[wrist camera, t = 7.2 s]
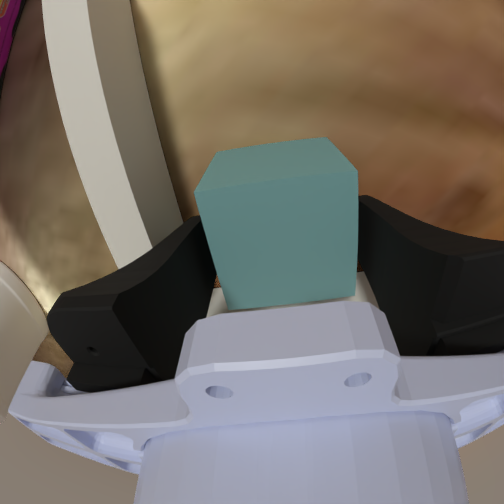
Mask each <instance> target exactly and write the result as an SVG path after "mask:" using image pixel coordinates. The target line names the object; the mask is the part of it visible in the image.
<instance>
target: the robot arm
mask: <svg viewBox="0 0 504 504" xmlns="http://www.w3.org/2000/svg"><path fill="white" fill-rule="evenodd" d="M357 257H358V260H359V262H360V264H361V266H362V269H363V271H364V273H365V275H366V277H367V280H368V282H369V284H370V286H371V289H372V291H373V293H374V295H375V298H376V301H377V303H378V306H379V309H378V308H377V307H375V306H374V305H372V304H371V303H369V302H355V301H337V302H330V303H322V304H314V305H306V306H297V307H288V308H278V309H268V310H258V311H247V312H235V313H222V314H218V315H215V316H211V317H207V313H208V309H209V304H210V300H211V296H212V292H213V288H214V284H215V279H216V275H217V272H216V268H215V265H214V262H213V258H212V255H211V252H210V248H209V245H208V241H207V238H206V234H205V231H204V227H203V224H202V220H201V217H200V215H199V216H193V217H191V218H190V219H188V220H187V221H186V222H184V223H183V224H182V225H181V226H179V227H178V228H177V229H176V230H174V231H173V232H172V233H171V234H170V235H168V236H167V237H166V238H165V239H163V240H162V241H161V242H160V243H158V244H157V245H156V246H154V247H153V248H152V249H151V250H149V251H148V252H146V253H145V254H143V255H142V256H140V257H139V258H137V259H136V260H134V261H133V262H131V263H129V264H128V265H126V266H124V267H122V268H120V269H118V270H117V271H115V272H113V273H111V274H109V275H107V276H105V277H103V278H101V279H98V280H96V281H94V282H91V283H89V284H86V285H84V286H81V287H78V288H75V289H72V290H69V291H66V292H63V293H62V294H61V295H60V296H59V297H58V299H57V300H56V302H55V303H54V305H53V307H52V308H51V310H50V311H49V313H48V316H47V325H48V327H49V330H50V333H51V334H52V336H53V337H54V339H55V340H56V341H57V343H58V344H59V345H60V346H61V348H62V349H63V350H64V351H65V353H66V354H67V355H68V356H69V357H70V359H71V360H72V361H73V362H74V364H73V366H72V368H71V370H70V373H69V375H68V377H67V378H65V377H64V376H63V374H62V373H61V372H60V371H59V370H58V369H57V368H56V367H55V366H53V365H51V364H49V363H44V362H39V361H31V362H30V364H29V366H28V368H27V370H26V372H25V374H24V376H23V378H22V380H21V382H20V384H19V386H18V388H17V391H16V393H15V395H14V397H13V399H12V401H11V404H10V406H9V408H8V412H9V413H10V414H11V415H12V416H14V417H15V418H16V419H17V420H18V421H20V422H21V423H22V424H24V425H25V426H26V427H28V428H29V429H30V430H31V431H33V432H34V433H36V434H37V435H38V436H40V437H41V438H43V439H44V440H45V441H47V442H48V443H50V444H52V445H55V446H57V447H60V448H62V449H65V450H67V451H70V452H72V453H75V454H78V455H81V456H83V457H86V458H89V459H91V460H94V461H97V462H100V463H103V464H105V465H108V466H112V467H115V468H118V469H121V470H124V471H128V472H131V473H135V474H138V475H139V478H138V483H137V488H136V494H135V500H134V504H469V500H468V495H467V489H466V484H465V479H464V474H463V469H462V465H461V461H460V456H459V452H458V448H460V447H463V446H465V445H467V444H469V443H471V442H473V441H474V440H476V439H479V438H480V437H482V436H484V435H486V434H488V433H490V432H491V431H493V430H495V429H497V428H498V427H500V426H502V425H503V424H504V241H498V240H490V239H482V238H477V237H472V236H467V235H463V234H458V233H455V232H451V231H448V230H444V229H441V228H438V227H435V226H433V225H430V224H428V223H425V222H422V221H420V220H418V219H415V218H413V217H411V216H409V215H407V214H405V213H403V212H401V211H399V210H397V209H395V208H393V207H391V206H389V205H387V204H385V203H383V202H381V201H379V200H377V199H375V198H373V197H371V196H368V195H362V196H358V253H357Z"/></svg>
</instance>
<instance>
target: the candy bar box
mask: <svg viewBox="0 0 504 504" xmlns="http://www.w3.org/2000/svg"><path fill="white" fill-rule="evenodd" d="M25 1H26V0H0V96H1V90H2V84H3V79H4V74H5V69H6V64H7V60H8V56H9V52H10V48H11V44H12V40H13V37H14V33H15V30H16V27H17V24H18V21H19V18H20V15H21V12H22V9H23V6H24V4H25Z"/></svg>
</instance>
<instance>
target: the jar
mask: <svg viewBox="0 0 504 504" xmlns="http://www.w3.org/2000/svg"><path fill="white" fill-rule="evenodd" d="M48 332H49V328H48V325H47V320H46V317H45V315H44V313H43V311H42V309H41V307H40V305H39V304H38V302H37V300H36V299H35V297H34V296H33V295H32V293H31V292H30V291H29V289H28V288H27V287H26V285H25V284H24V283H23V282H22V281H21V280H20V279H19V277H18V276H17V275H16V274H15V273H14V272H13V271H12V270H11V269H10V268H8V267H7V266H6V265H5V264H4V263H2V262H1V261H0V424H1V423H2V422H3V421H4V420H5V419H6V416H7V414H8V408H9V406H10V404H11V401H12V399H13V397H14V395H15V393H16V391H17V388H18V386H19V384H20V382H21V380H22V378H23V376H24V374H25V372H26V370H27V368H28V366H29V364H30V362H31V361H32V359H33V357H34V355H35V353H36V352H37V350H38V348H39V346H40V344H41V343H42V342H43V341H44V339H45V337H46V336H47V334H48Z"/></svg>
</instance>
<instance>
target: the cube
mask: <svg viewBox="0 0 504 504" xmlns="http://www.w3.org/2000/svg"><path fill="white" fill-rule="evenodd" d="M194 195H195V199H196V202H197V206H198V210H199V213H200V217H201V220H202V224H203V227H204V231H205V234H206V238H207V241H208V245H209V248H210V252H211V255H212V258H213V262H214V265H215V268H216V272H217V275H218V278H219V282H220V285H221V288H222V291H223V295H224V298H225V301H226V304H227V307H228V310H236V309H247V308H257V307H267V306H277V305H286V304H295V303H303V302H311V301H319V300H327V299H335V298H342V297H349V296H355V290H356V274H357V253H358V171H357V170H356V168H355V167H354V166H353V165H352V164H351V163H350V162H349V161H348V160H347V158H346V157H345V156H344V155H343V154H342V153H341V152H340V151H339V150H338V149H337V148H336V147H335V146H334V145H333V143H332V142H331V141H330V140H329V139H328V138H327V137H323V138H312V139H303V140H294V141H285V142H277V143H270V144H263V145H256V146H250V147H243V148H237V149H231V150H226V151H220V152H217V153H216V154H215V156H214V158H213V159H212V161H211V163H210V165H209V166H208V168H207V170H206V172H205V173H204V175H203V177H202V179H201V180H200V182H199V184H198V186H197V187H196V189H195V191H194Z"/></svg>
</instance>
